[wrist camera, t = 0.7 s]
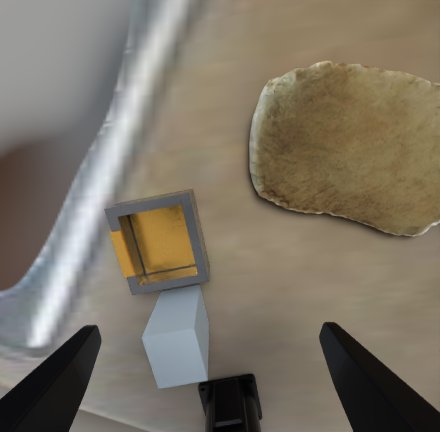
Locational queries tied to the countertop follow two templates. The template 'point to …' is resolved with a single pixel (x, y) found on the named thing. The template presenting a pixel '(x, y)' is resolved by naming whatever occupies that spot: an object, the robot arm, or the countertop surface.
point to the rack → (159, 242)
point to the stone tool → (350, 145)
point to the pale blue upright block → (178, 338)
